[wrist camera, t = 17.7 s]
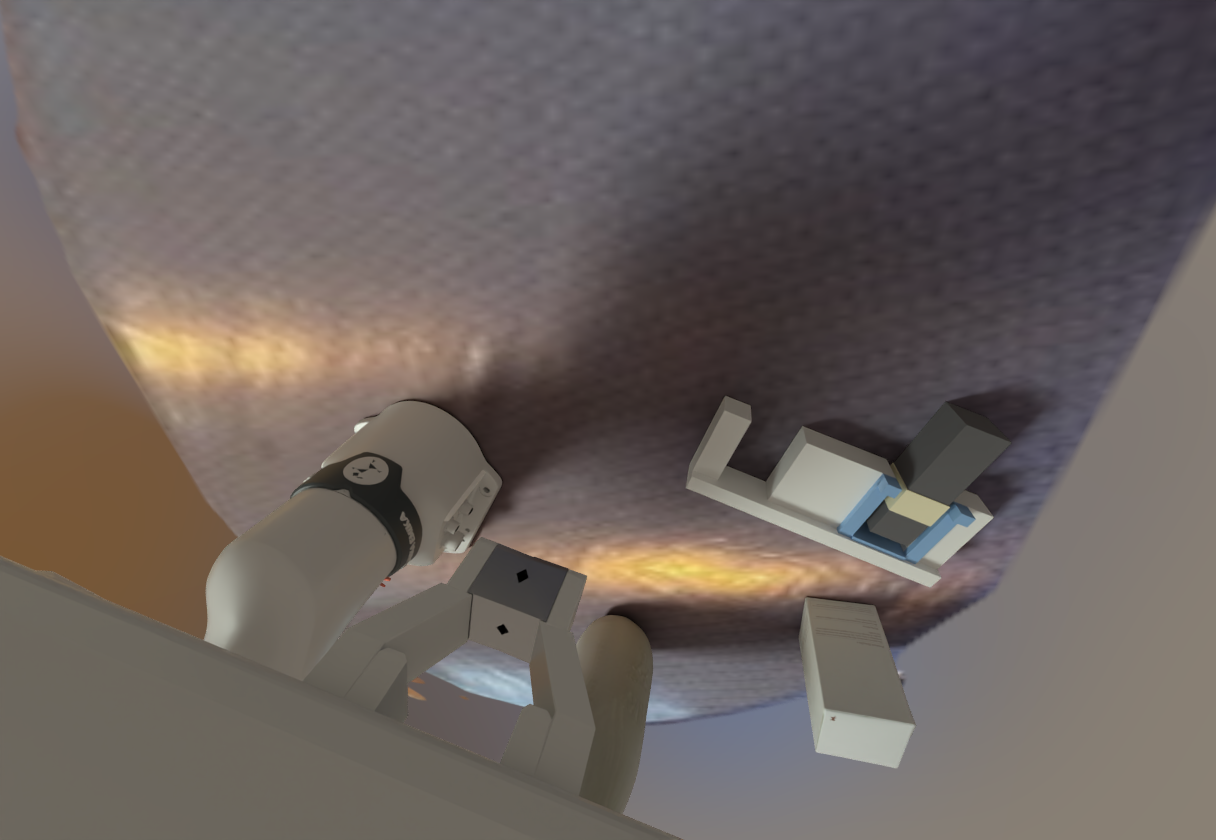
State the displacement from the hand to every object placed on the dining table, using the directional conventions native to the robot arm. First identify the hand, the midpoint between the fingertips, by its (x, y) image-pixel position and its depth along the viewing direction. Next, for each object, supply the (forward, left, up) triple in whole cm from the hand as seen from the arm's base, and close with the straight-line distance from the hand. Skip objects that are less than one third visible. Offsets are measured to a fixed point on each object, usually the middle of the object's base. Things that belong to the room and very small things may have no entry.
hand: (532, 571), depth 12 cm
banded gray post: (-6, -26, -31) cm, 41 cm away
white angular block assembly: (-11, -20, -31) cm, 39 cm away
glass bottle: (-44, -10, -31) cm, 55 cm away
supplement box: (-28, -31, -31) cm, 52 cm away
